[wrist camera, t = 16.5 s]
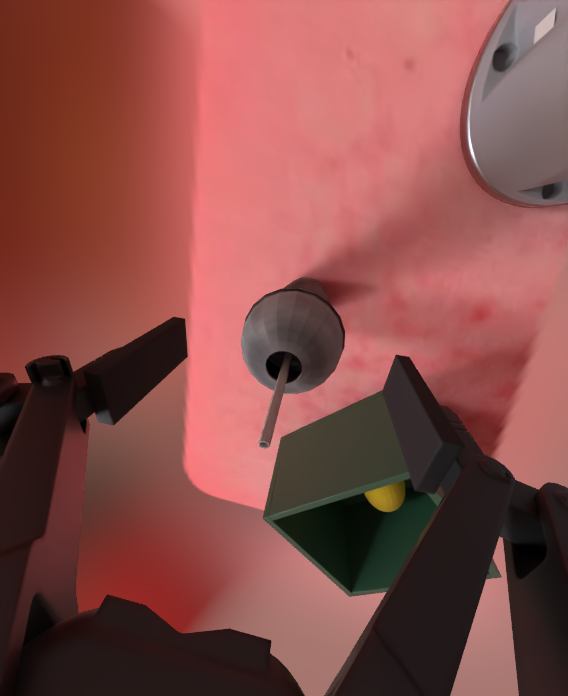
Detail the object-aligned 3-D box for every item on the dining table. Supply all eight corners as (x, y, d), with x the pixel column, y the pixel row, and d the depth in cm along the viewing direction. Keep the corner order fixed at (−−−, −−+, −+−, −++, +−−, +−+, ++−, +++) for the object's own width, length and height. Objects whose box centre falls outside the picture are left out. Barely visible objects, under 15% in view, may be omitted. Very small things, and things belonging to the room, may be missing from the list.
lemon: (388, 492, 29) (395, 533, 32) (410, 459, 31) (415, 500, 34) (348, 468, 33) (358, 506, 36) (371, 441, 36) (378, 478, 39)
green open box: (389, 386, 31) (419, 468, 21) (451, 473, 35) (502, 577, 25) (280, 437, 38) (262, 518, 27) (344, 505, 42) (349, 596, 32)
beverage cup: (345, 268, 26) (381, 361, 8) (332, 332, 29) (338, 498, 11) (276, 260, 27) (170, 329, 9) (271, 323, 30) (188, 466, 12)
